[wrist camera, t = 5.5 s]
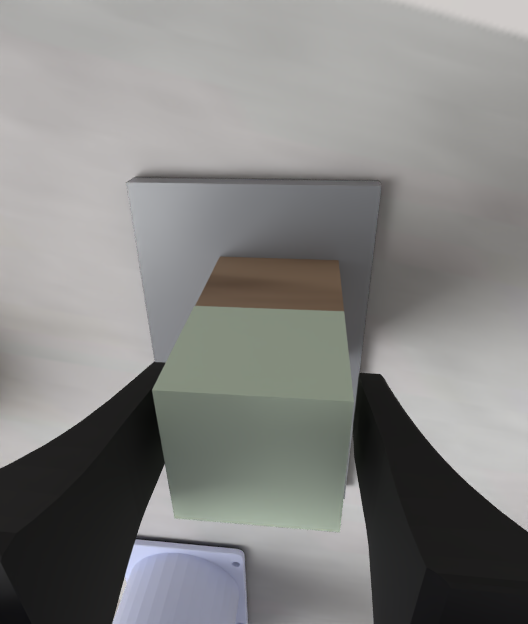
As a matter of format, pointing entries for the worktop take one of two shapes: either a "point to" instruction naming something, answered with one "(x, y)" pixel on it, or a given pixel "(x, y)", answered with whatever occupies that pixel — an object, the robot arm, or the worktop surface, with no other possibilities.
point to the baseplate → (249, 242)
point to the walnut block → (274, 284)
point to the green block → (257, 417)
